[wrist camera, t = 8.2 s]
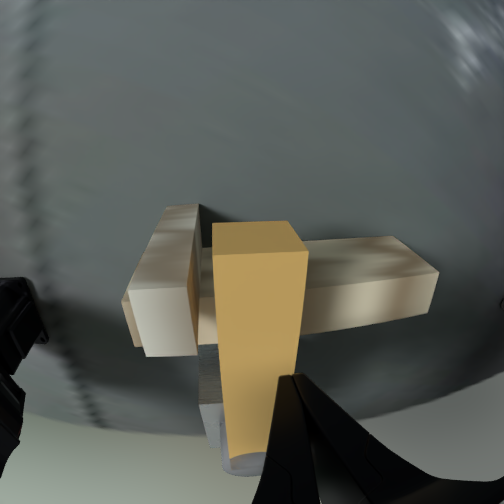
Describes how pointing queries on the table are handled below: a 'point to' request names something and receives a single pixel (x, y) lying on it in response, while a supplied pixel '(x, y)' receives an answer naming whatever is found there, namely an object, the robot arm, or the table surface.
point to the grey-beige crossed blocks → (315, 297)
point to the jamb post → (211, 392)
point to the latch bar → (255, 330)
